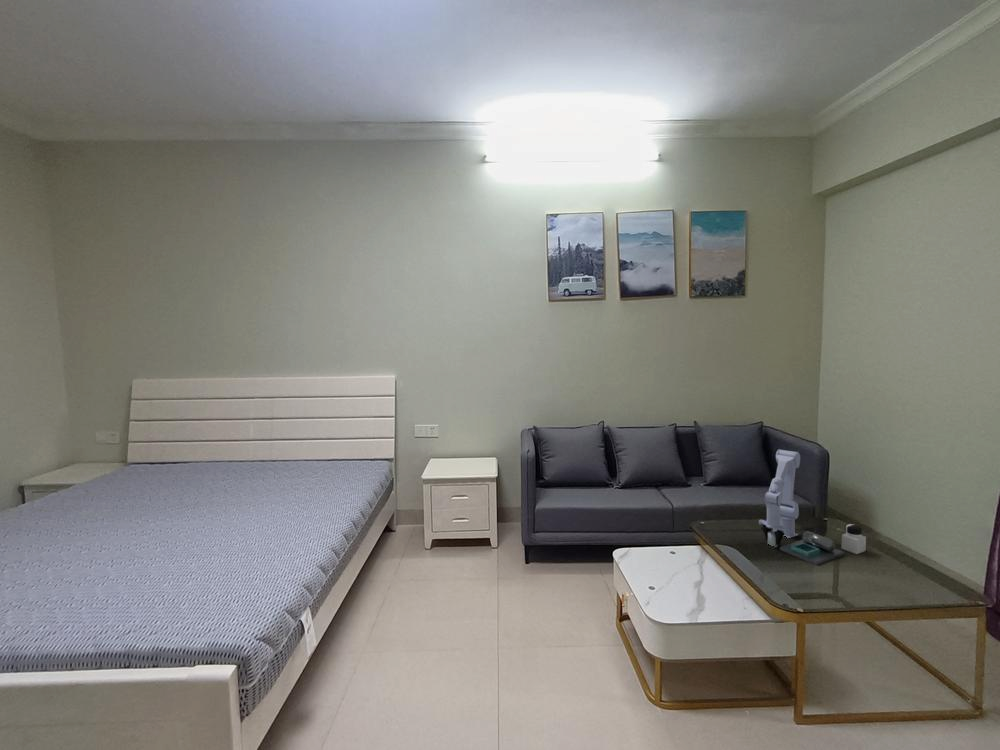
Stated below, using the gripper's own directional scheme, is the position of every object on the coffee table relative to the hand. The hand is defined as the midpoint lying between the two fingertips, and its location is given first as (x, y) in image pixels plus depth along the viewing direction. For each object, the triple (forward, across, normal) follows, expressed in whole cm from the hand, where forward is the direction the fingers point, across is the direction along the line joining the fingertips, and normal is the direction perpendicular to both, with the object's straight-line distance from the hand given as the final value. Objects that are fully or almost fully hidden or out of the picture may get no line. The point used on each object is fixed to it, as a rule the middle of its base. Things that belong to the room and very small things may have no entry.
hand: (773, 542), depth 247 cm
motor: (+1, +14, +8) cm, 16 cm away
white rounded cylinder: (+1, 0, 0) cm, 1 cm away
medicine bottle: (+2, +22, +27) cm, 35 cm away
